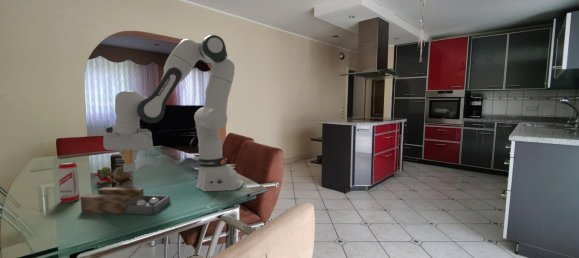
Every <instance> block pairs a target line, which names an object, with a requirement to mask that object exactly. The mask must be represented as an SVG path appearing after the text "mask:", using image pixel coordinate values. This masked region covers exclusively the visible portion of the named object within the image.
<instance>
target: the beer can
mask: <svg viewBox="0 0 579 258" xmlns="http://www.w3.org/2000/svg"><path fill="white" fill-rule="evenodd" d="M78 171H79V170H78V165H77V164H76V161H64V162H61V163H59V166H58V167H57V173H58V186H59V198H60V201H61V202H62V203H71V202H70V201H73V202H75V200H76V201H78V200H77V199H80V198H81V195H80V185H79V184H80V183H79V172H78Z"/></svg>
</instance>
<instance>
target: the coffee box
mask: <svg viewBox="0 0 579 258" xmlns="http://www.w3.org/2000/svg"><path fill="white" fill-rule="evenodd" d="M109 158H110V170H111V182H110V183H112V184H111V187H113V188H134V185H135V183H134V182H135V179H134V170H133V171H130V172H124V168H123V164H125V162H124V160H122V156H121V155H120V153H114V154H113V153H112V154H111V155H110V157H109Z"/></svg>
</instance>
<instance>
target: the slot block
mask: <svg viewBox="0 0 579 258" xmlns="http://www.w3.org/2000/svg"><path fill="white" fill-rule="evenodd" d="M97 191H98V192H97V193H98V194H97V193H96V194H95V193H94V194H90V193H87V194H84V195H82V196H80V206H81V207H80V208H81V213H83V214H85V213H87V214H89V213H91V214H117V215H118V214H121V215H122V214H124V215H126V214H125V206H126V205H128V204H129V203H131V202H133V201H135V200H136V199H138V198H140V197H142V196H143V195H145V194H144V193H145V192H144V188H143V187H131V188H113V187H112V186H111V187H108V186H107V187H106V186H105V187H101V188H99V189H97Z"/></svg>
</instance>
